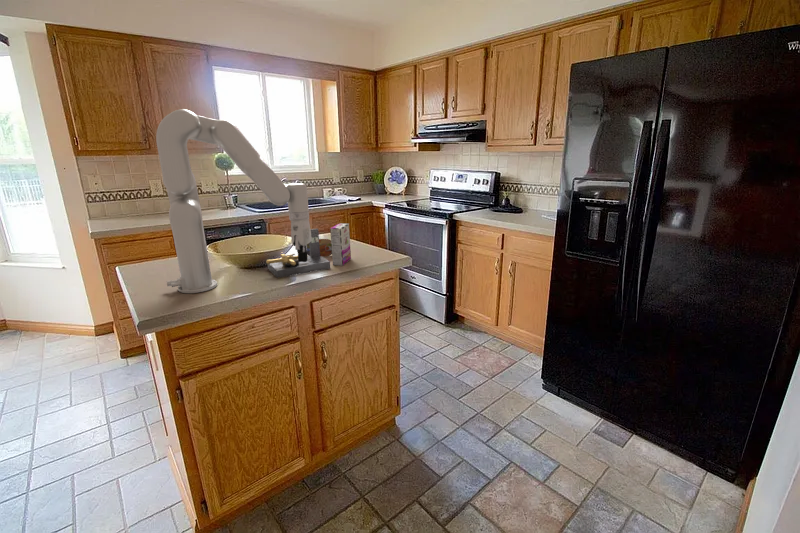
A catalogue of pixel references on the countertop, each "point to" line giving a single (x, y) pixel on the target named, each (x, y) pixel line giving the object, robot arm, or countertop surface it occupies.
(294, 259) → the capstan
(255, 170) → the robot arm
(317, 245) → the stand
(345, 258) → the candy bar box
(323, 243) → the tin
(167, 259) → the countertop surface
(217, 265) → the countertop surface
